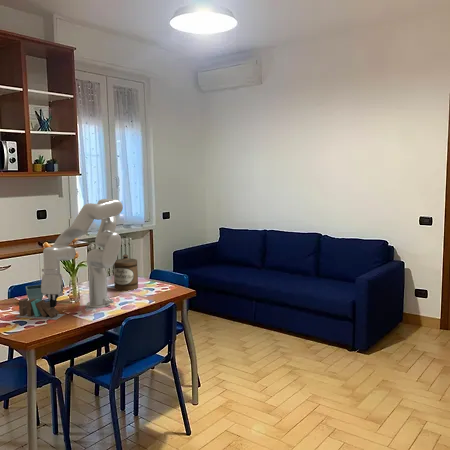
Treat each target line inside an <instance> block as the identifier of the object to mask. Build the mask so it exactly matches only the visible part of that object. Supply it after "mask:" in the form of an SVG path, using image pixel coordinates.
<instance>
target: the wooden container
mask: <svg viewBox="0 0 450 450" xmlns="http://www.w3.org/2000/svg"><path fill="white" fill-rule="evenodd" d="M113 273H114V275H113V276H114V278H113V279H114V281H113V282H114V290H115V291H119V292H129V291H128V290H131V291H135V290H137V289H139V272H138V259H136V258H130V257H129V255H128V254H123V255H122V258H120V259H119V258H117V259H116V261H115V263H114V265H113ZM134 289H135V290H134Z"/></svg>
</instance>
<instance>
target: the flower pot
mask: <svg viewBox="0 0 450 450" xmlns="http://www.w3.org/2000/svg"><path fill="white" fill-rule="evenodd" d="M25 291H26V296H27V298H28V301H29V300H31V299H40V301H42V300H43V297H44V295H43V293H42V292H41V284H35V285H27V286H25Z"/></svg>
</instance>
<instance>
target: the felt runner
mask: <svg viewBox="0 0 450 450" xmlns="http://www.w3.org/2000/svg"><path fill="white" fill-rule="evenodd" d="M65 315H66V314H65V313H58V314H57V315H56V316H54V317H53V318H51V317H50V316H49V315H47V316H45V317H43V316H42V315H40V316H37V317H35V315H33V316H31V317H28V316H27V314H26V315H24V316H19V314H18V315H16V316H15V318H24V319H25V318H26V319H39V320H40V319H42V320H58V319H60V318H62V317H63V316H65Z"/></svg>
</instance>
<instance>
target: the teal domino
mask: <svg viewBox="0 0 450 450" xmlns="http://www.w3.org/2000/svg"><path fill="white" fill-rule="evenodd" d="M38 302H40V299H36V300H34V301H32V302H31V304H32V307H33V311H34V314H35V317H37V316H40V315H42V314H41V313H40V311H39V309H38V308H37V306H36V305H35V304H36V303H38Z"/></svg>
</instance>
